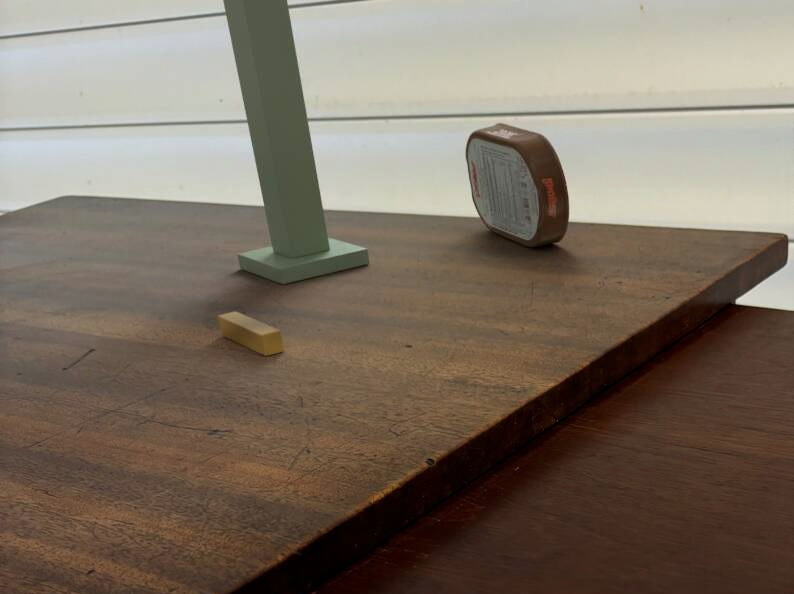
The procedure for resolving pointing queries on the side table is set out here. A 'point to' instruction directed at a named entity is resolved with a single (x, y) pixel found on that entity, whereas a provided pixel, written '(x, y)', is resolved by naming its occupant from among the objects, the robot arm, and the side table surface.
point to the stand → (282, 148)
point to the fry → (251, 333)
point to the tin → (518, 184)
